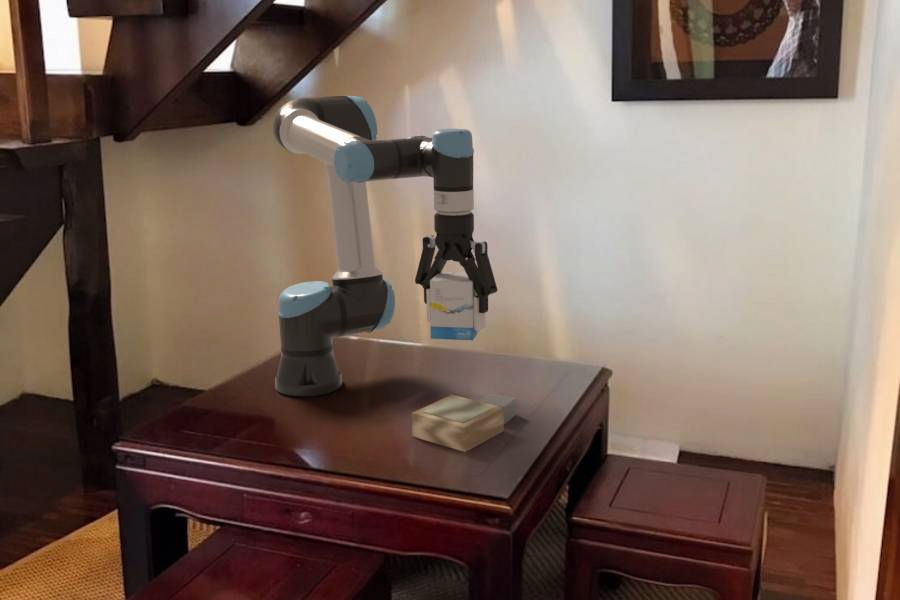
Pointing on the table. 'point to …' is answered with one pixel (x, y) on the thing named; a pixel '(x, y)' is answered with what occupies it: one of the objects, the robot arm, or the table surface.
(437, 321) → the ink box
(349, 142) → the robot arm
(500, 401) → the slate block
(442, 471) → the table surface
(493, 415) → the pedestal
